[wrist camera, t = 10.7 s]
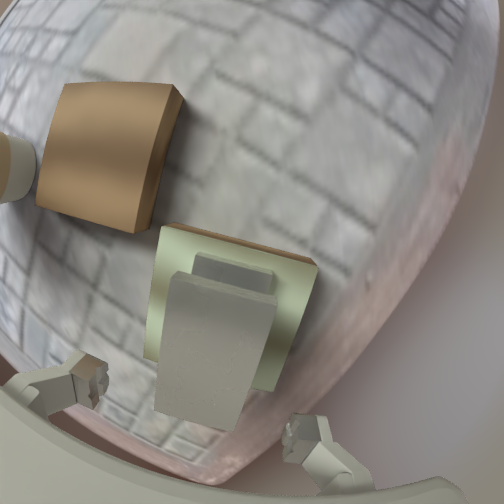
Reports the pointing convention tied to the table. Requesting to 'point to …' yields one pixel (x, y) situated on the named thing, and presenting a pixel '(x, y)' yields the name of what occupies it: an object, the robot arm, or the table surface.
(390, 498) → the robot arm
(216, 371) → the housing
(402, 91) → the table surface
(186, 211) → the table surface
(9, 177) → the coffee cup
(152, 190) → the stand
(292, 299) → the stand
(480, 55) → the table surface
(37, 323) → the table surface
